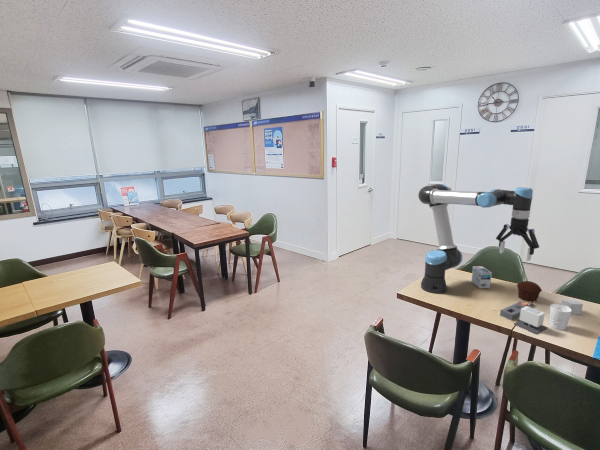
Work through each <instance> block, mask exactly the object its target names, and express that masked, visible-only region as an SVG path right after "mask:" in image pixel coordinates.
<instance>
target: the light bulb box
mask: <svg viewBox="0 0 600 450" xmlns="http://www.w3.org/2000/svg"><path fill="white" fill-rule="evenodd" d="M492 274H493V272H492V271H490V270H489V269H487V268H486V267H484V266H482V265H481V266H478V265H477V266H475V265H474V266H472V274H471V282H470V283H473V284H474V285H475V287H478V288H479V289H490V288H491V283H492V276H493V275H492Z"/></svg>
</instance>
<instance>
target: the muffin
mask: <svg viewBox="0 0 600 450" xmlns="http://www.w3.org/2000/svg"><path fill="white" fill-rule="evenodd" d="M516 287H517V290H518V291H517V295H518V296H517V297H518V299H520V300H521V301H524V302H527V301H528V303H530V302H531V303H535V302H537V301H538V299H539V295H540V293H541V292H542V291H543V290H542V288H541V287H540V286H539V284H537V283H536V282H533V281H531V280H530V281H529V280H523V281H520V282H519V283H518V284H517V285H516ZM534 301H535V302H534Z"/></svg>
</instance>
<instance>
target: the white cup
mask: <svg viewBox="0 0 600 450" xmlns="http://www.w3.org/2000/svg"><path fill="white" fill-rule="evenodd" d="M571 311H572V310H571V309H570V308H569V307H566V306H564V305H561V304H560V303H559V304H558V303H552V304H550V307H549V317H548V325H549V326H550V327H551V328H552V329H554V330H559V331H565V330H567V327H568V324H569V321H570V318H571Z"/></svg>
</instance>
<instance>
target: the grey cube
mask: <svg viewBox="0 0 600 450" xmlns="http://www.w3.org/2000/svg"><path fill="white" fill-rule="evenodd" d="M560 302H561V303H560V305H564V306H566V307H569V308H570V309H571V310H572V311H571V315H573V316H574V315H582V310H583V307H584V304H583V303H581V302H580V301H578V300H576V299H574V298H562V299H561V301H560ZM571 315H570V316H571Z"/></svg>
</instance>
